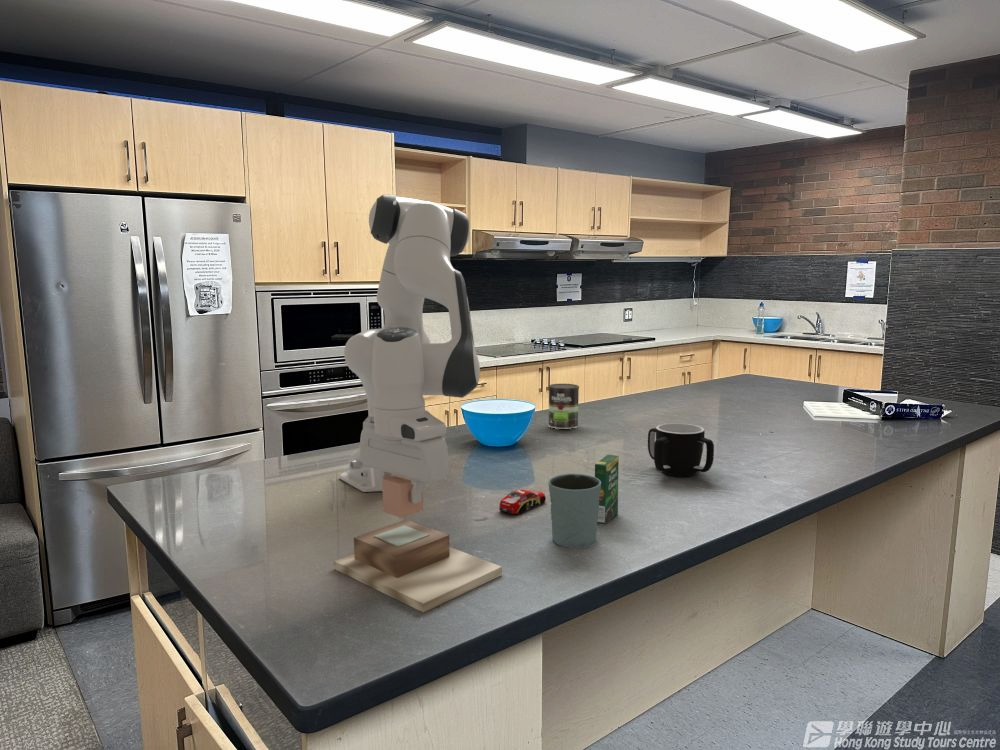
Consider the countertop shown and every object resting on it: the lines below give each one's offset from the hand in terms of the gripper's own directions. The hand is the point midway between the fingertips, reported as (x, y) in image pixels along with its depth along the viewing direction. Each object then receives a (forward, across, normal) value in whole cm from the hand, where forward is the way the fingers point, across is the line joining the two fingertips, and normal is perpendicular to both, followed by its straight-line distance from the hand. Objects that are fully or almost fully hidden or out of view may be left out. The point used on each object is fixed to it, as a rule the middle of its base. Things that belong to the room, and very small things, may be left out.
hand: (402, 498), depth 122 cm
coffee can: (+13, -47, +109) cm, 119 cm away
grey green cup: (+13, +16, +30) cm, 36 cm away
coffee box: (+13, +14, +44) cm, 48 cm away
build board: (+13, +4, 0) cm, 13 cm away
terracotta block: (+2, 0, 0) cm, 2 cm away
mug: (+13, +9, +85) cm, 86 cm away
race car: (+13, -4, +38) cm, 41 cm away
